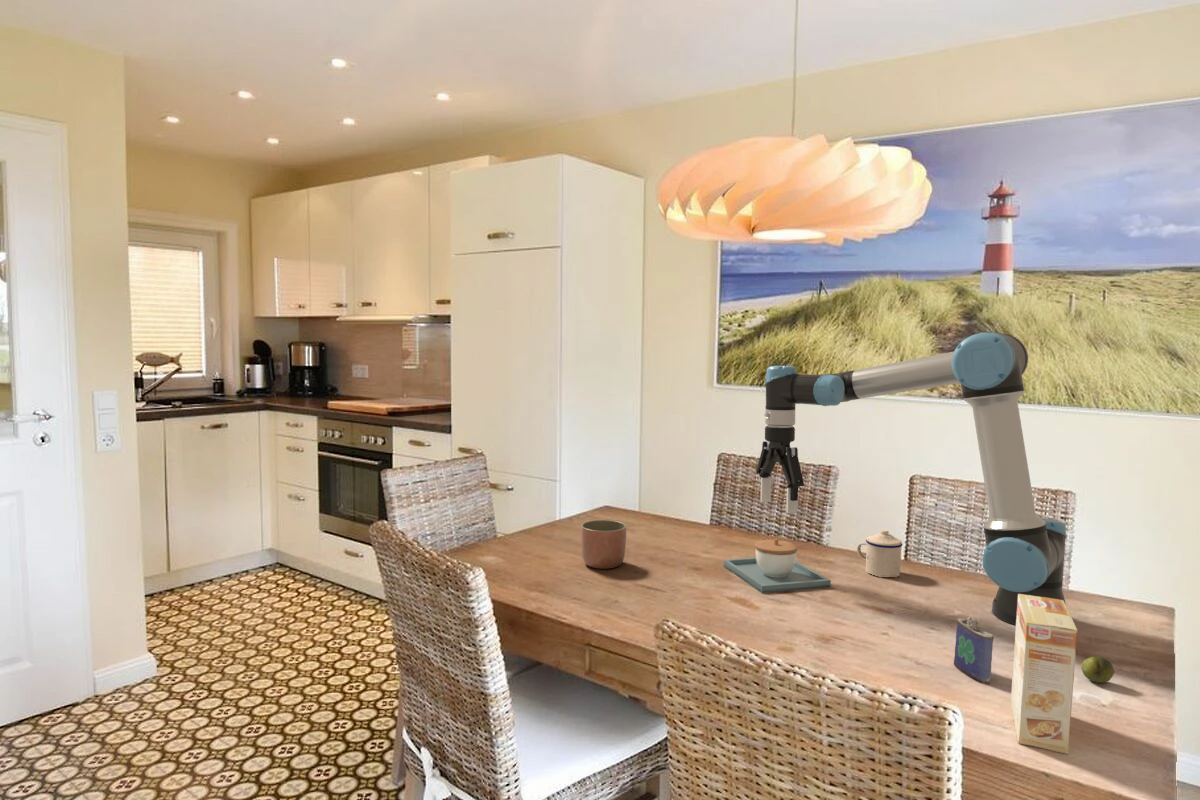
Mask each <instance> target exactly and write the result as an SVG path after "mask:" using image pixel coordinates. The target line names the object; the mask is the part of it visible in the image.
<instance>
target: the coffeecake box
mask: <svg viewBox="0 0 1200 800" xmlns="http://www.w3.org/2000/svg"><path fill="white" fill-rule="evenodd" d="M1065 603H1066V602H1065ZM1065 603H1064V601H1063V600H1059V599H1053V598H1047V597H1038V596H1031V595H1024V594H1018V601H1017V617H1016V625H1015V630H1014V631H1015V633H1014V634H1015V635H1014V648H1013V665H1012V678H1011V679H1012V681H1011V690H1010V691H1011V692H1010V694H1011V695H1010V706H1011V713H1012V718H1013V722H1014V728H1015V729H1014V730H1015V734H1016V739H1017V743H1018V744H1021V745H1025V746H1029V747H1030V746H1031V747H1034V748H1039V749H1042V750H1043V749H1044V750H1048V751H1051V752H1055V753H1061V754H1066V755H1069V754H1070V751H1069V750H1070V749H1069V747H1070V734H1071V733H1070V731H1071V717H1072V709H1073V708H1072V706H1073V693H1074V680H1075V667H1076V666H1075V665H1076V652H1077V643H1078V642H1077V641H1078V628H1077V626H1076V624H1075V622H1074V620H1073V618H1072V615H1071V613H1070V611H1069V609H1068V607H1067V604H1066V605H1065Z"/></svg>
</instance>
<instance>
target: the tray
mask: <svg viewBox="0 0 1200 800" xmlns="http://www.w3.org/2000/svg"><path fill="white" fill-rule="evenodd" d="M722 565H723V567H724V568H725V569H727V571H729V572H731V573H732V574H734V575H736V576H737V577H738V578H739V579H741V580H742V581H744V582H745V583H746V584H747V585H749V586H751V587H752V588H754V589H755V590H757V591H758V592H759V593H761V594H767V593H770V594H771V593H779V592H780V593H781V592H789V591H791V592H794V591H802V590H803V589H804V590H812V589H813V590H815V589H814V588H816V589H825V587H827V588H831V579H830V578H827V577H825V576H824V575H822V574H820V573H819V572H817V571H815V570H813V569H811V568H810V567H808V566H806V565H804V564H802V562H801V563H800V562H799V561H797V560H796V562H795V565H794V568H793V569H792V571H791V572H790V573H788V574H787V576H786V577H782V578H774V577H769V576H766V575H764V574H763V572H762V571H761V570H760V568H759V567H758V565H757V562H756V556H755V557H744V558H731V559H730V558H729V559H723V564H722Z"/></svg>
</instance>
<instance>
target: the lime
mask: <svg viewBox="0 0 1200 800" xmlns="http://www.w3.org/2000/svg"><path fill="white" fill-rule="evenodd" d="M1080 669H1081V672H1082V674H1083V676H1084V677H1085V678H1086V679H1088V680H1089V681H1091V682H1092V683H1097V684H1104V683H1107V682H1109V681H1110V680H1111V679H1112V678H1113V676H1114V674H1115V668H1114V666H1113V664H1112V662H1111V661H1110V660H1108V659H1107V658H1105V657H1103V656H1093V655H1092V656H1090V657H1088V658H1086V659H1084V660H1083V661H1082V663H1081V668H1080Z"/></svg>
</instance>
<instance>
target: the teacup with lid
mask: <svg viewBox="0 0 1200 800" xmlns="http://www.w3.org/2000/svg"><path fill="white" fill-rule="evenodd" d="M862 546H866V551H865V552H866V554H865V556H864V555H863V553H862V551H861V547H862ZM902 546H903V542H902V540H901V539H900V538H897V537H896V536H893V535H892V534H890V533H889V530H887V529H881V530H880V532H878V533H875V534H874V535H870V536H868V537H866V539H865V541H862V542H859V543H858V544H857V546H856V552H857V556H858V557H859V558H860V559H861V560H862V561H865V573H867V572H868V573H870V574H872V575H871V576H873V575H875V576H874V577H876V576H879V577H878V578H882V577H895V578H898V577H899V576H900V575H901V560H902ZM868 573H867V574H868ZM870 574H869V575H870ZM897 576H898V577H897Z"/></svg>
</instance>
